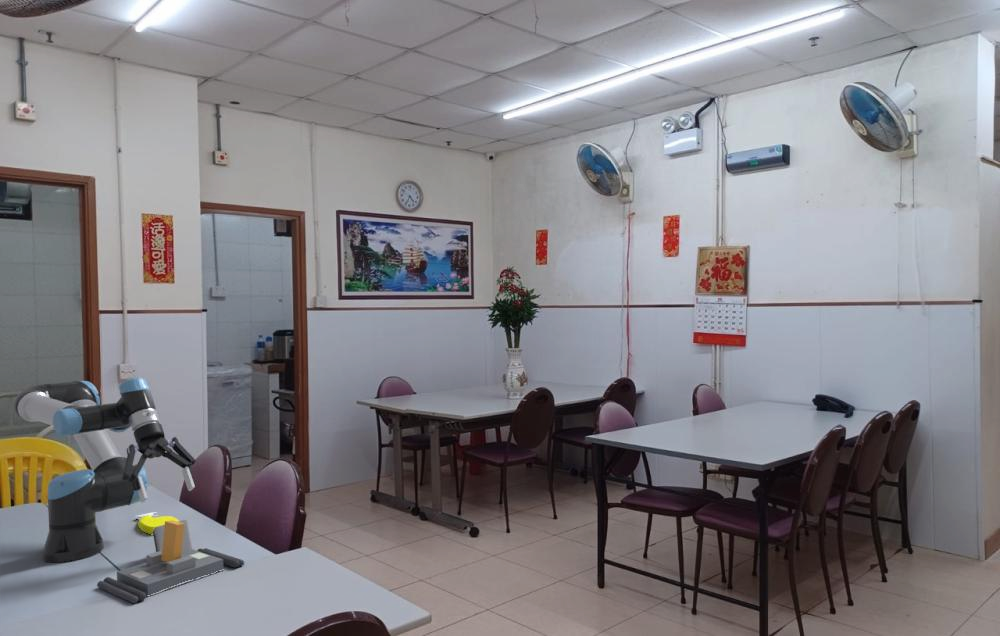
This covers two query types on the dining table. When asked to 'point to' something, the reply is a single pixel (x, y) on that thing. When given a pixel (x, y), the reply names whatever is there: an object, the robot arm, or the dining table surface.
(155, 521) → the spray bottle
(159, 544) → the electrical switch
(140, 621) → the dining table surface
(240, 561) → the cable bundle
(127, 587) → the cable bundle
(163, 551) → the lever
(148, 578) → the breaker panel
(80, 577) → the dining table surface
